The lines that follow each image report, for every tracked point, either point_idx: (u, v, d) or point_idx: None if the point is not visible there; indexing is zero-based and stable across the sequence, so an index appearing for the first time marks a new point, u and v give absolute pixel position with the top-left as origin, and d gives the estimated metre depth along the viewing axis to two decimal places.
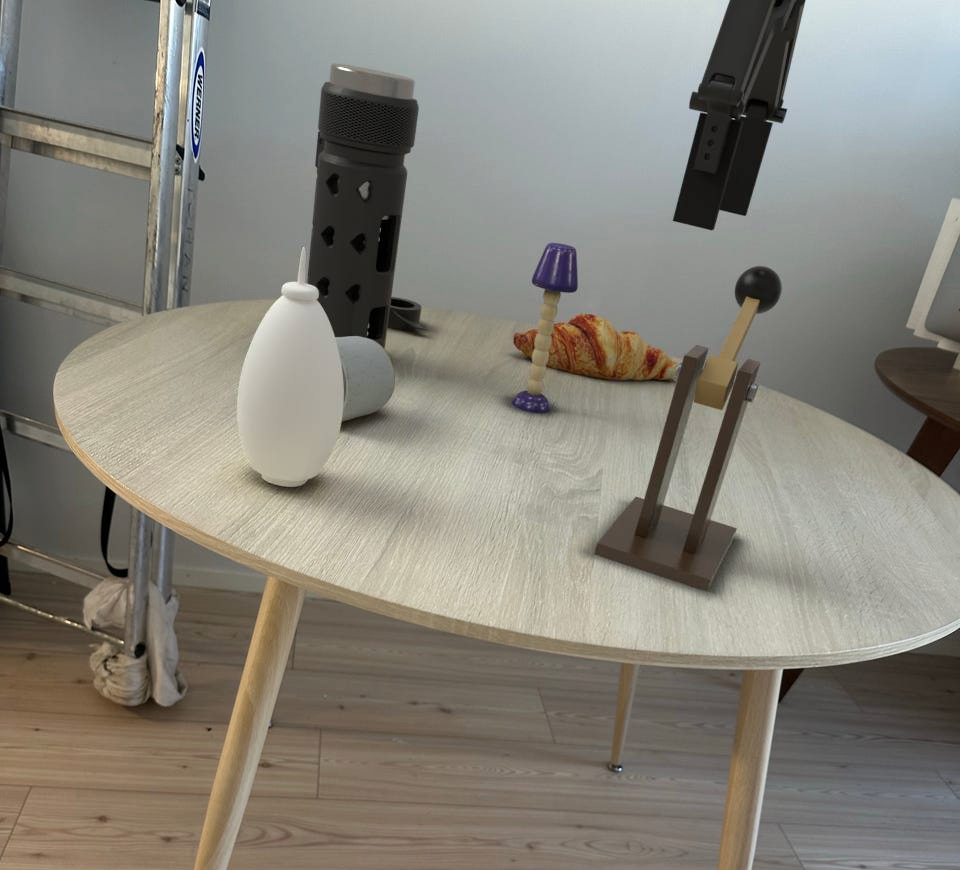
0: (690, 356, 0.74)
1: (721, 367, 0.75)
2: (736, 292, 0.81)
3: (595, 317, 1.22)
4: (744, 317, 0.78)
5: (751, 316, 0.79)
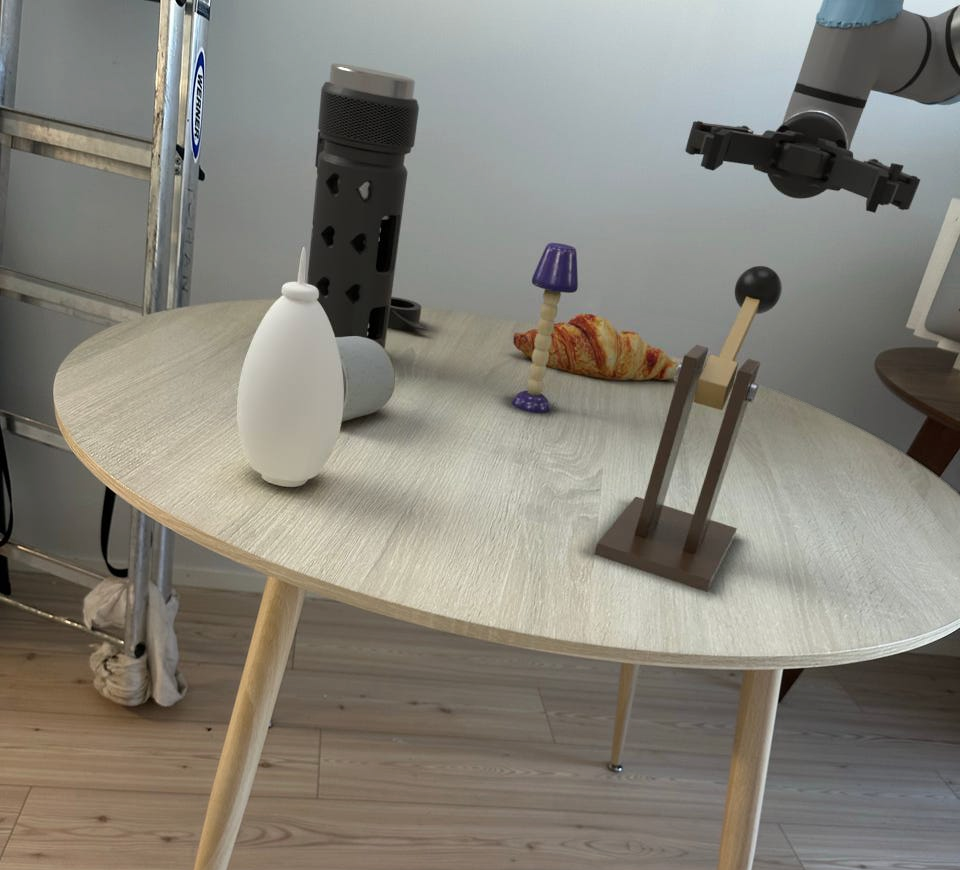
0: (690, 356, 0.74)
1: (721, 367, 0.75)
2: (736, 292, 0.81)
3: (595, 317, 1.22)
4: (744, 317, 0.78)
5: (751, 316, 0.79)
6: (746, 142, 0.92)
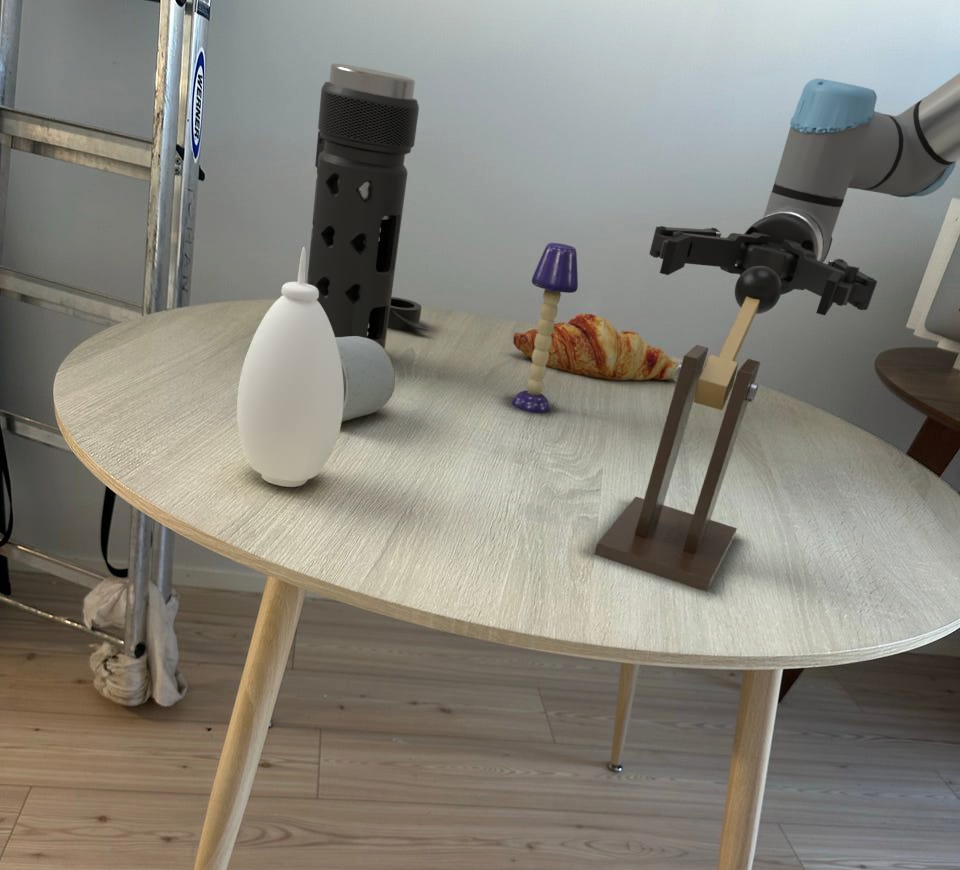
0: (690, 356, 0.74)
1: (721, 367, 0.75)
2: (736, 292, 0.81)
3: (595, 317, 1.22)
4: (744, 317, 0.78)
5: (751, 316, 0.79)
6: (709, 245, 0.94)
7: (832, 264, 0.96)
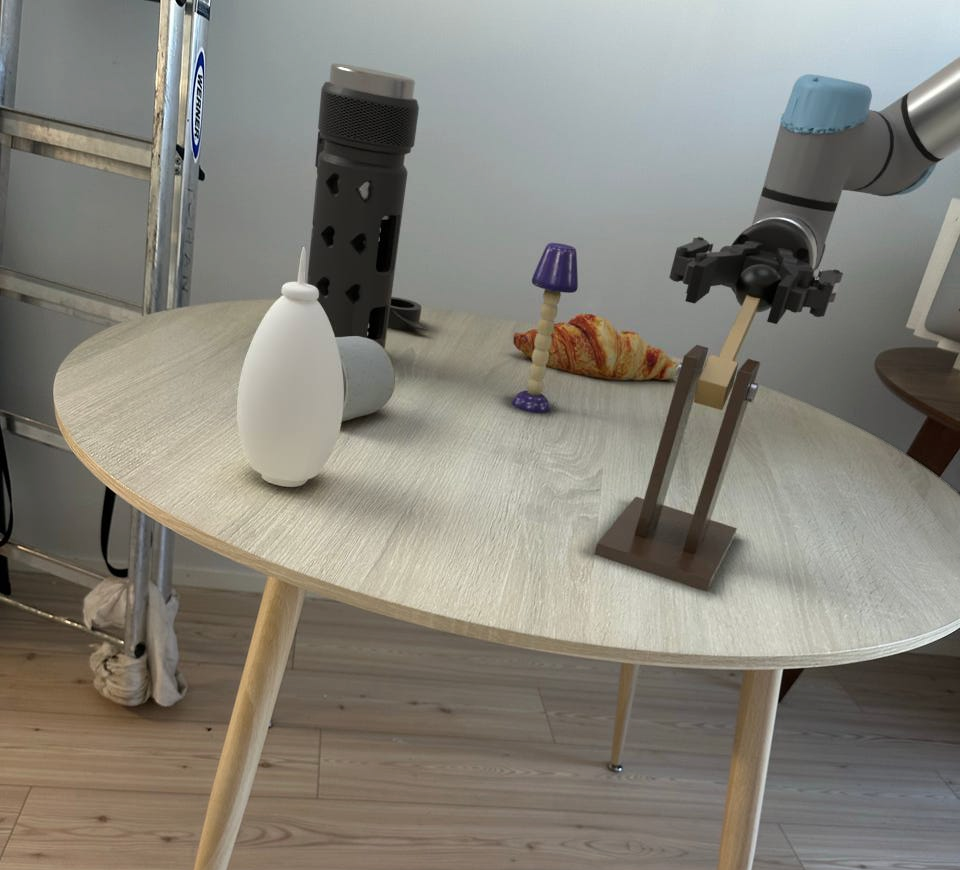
0: (690, 356, 0.74)
1: (721, 367, 0.75)
2: (736, 291, 0.80)
3: (595, 317, 1.22)
4: (744, 316, 0.78)
5: (751, 315, 0.78)
6: (724, 263, 0.85)
7: None
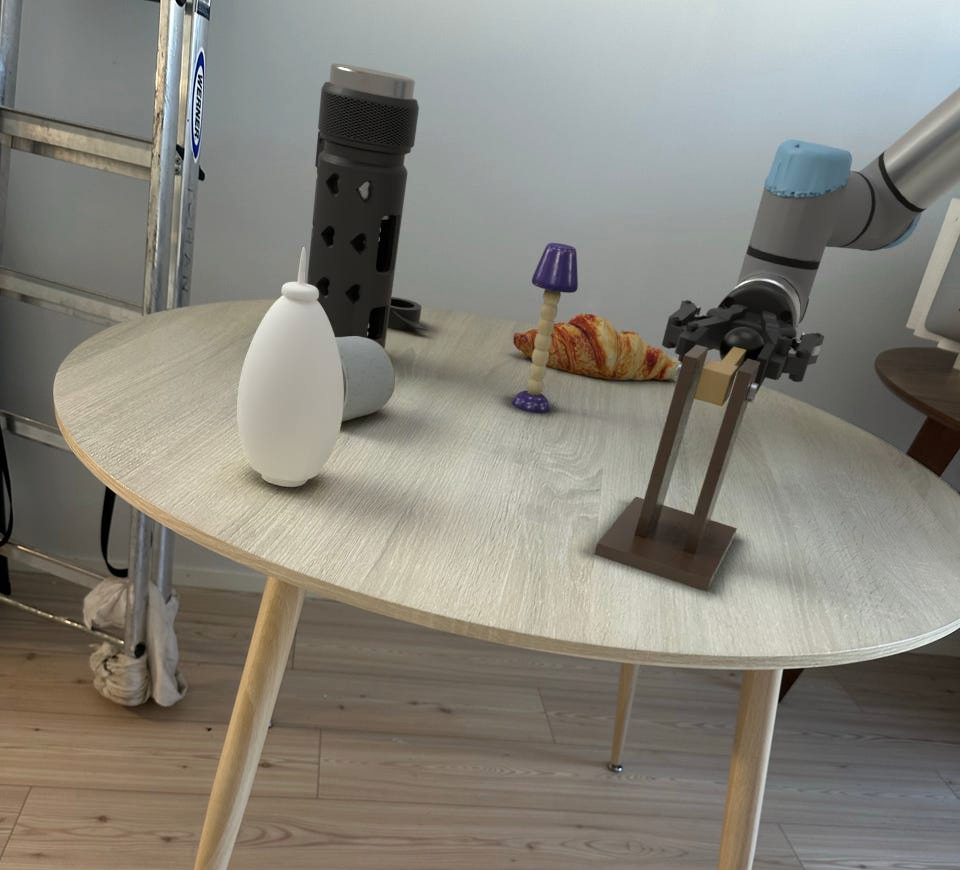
0: (690, 356, 0.74)
1: (722, 365, 0.75)
2: (722, 346, 0.84)
3: (595, 317, 1.22)
4: (734, 354, 0.81)
5: (741, 355, 0.81)
6: (714, 330, 0.89)
7: None
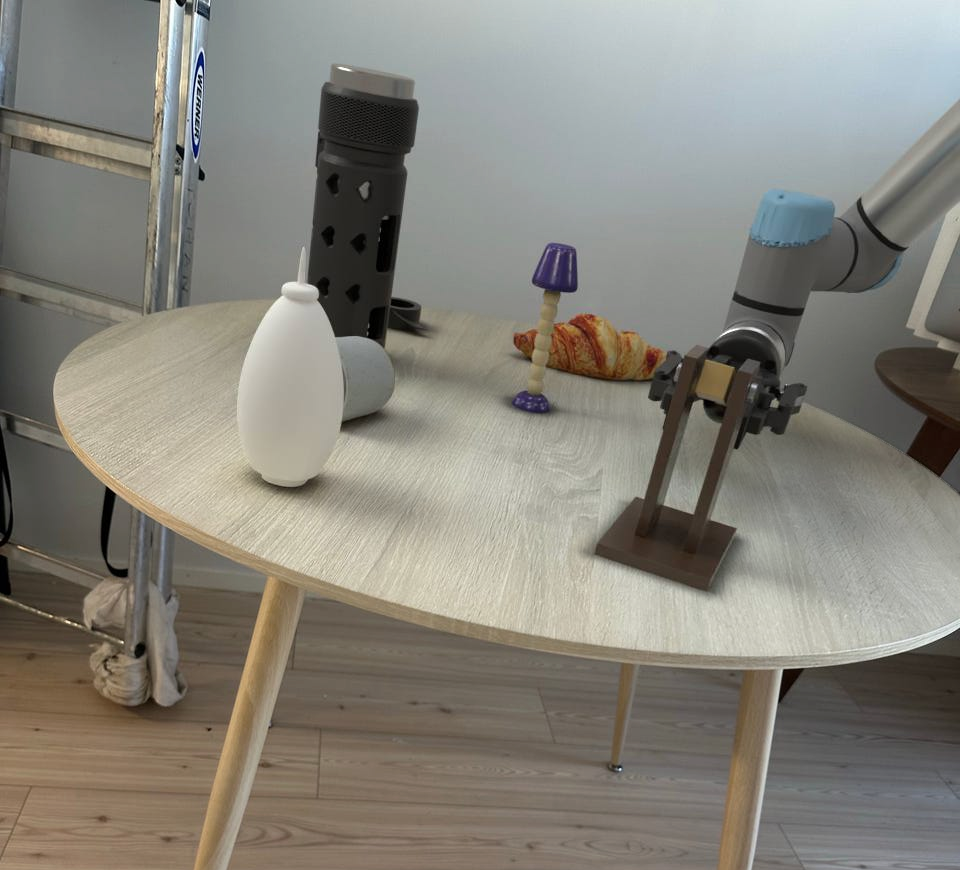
0: (690, 356, 0.74)
1: None
2: None
3: (595, 317, 1.22)
4: None
5: (729, 391, 0.82)
6: None
7: None
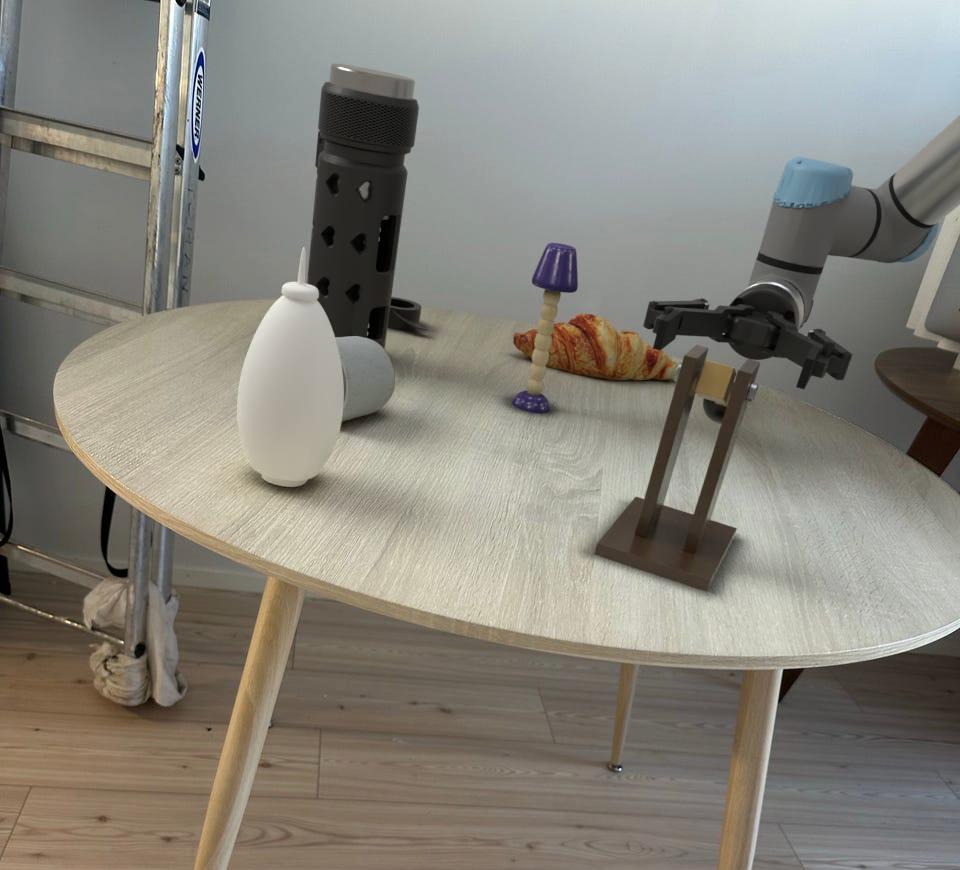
0: (690, 356, 0.74)
1: None
2: None
3: (595, 317, 1.22)
4: None
5: (729, 392, 0.82)
6: (698, 318, 1.02)
7: (812, 334, 1.04)
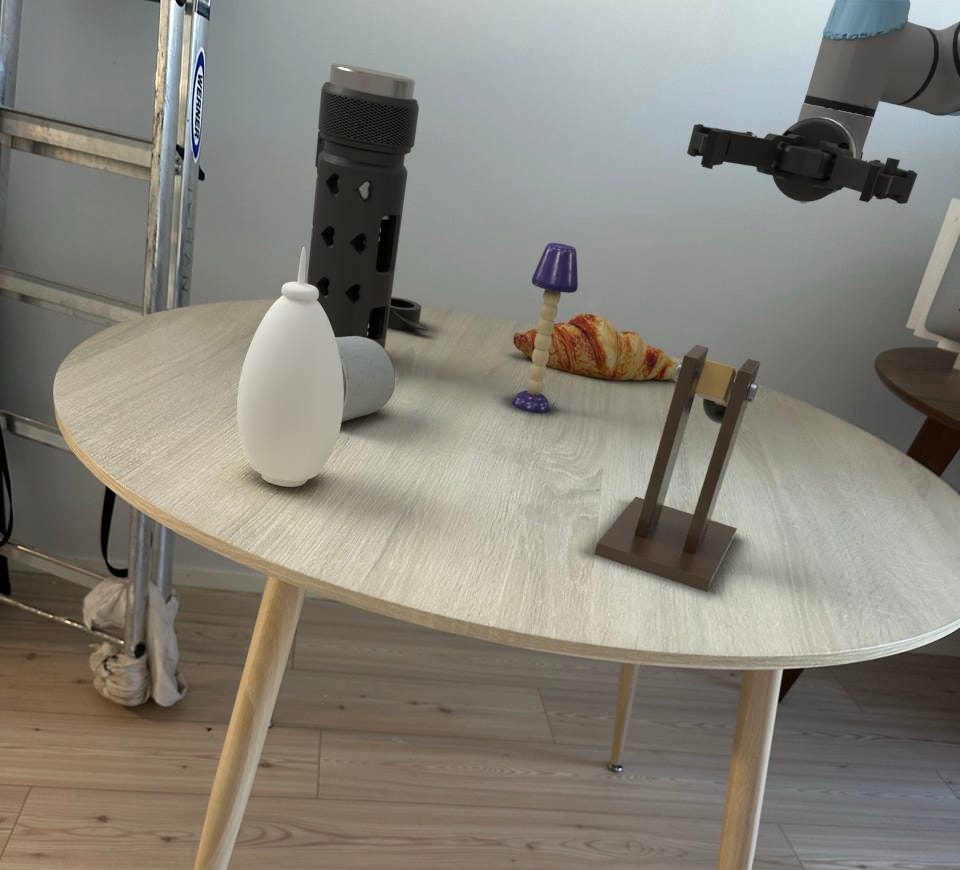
0: (690, 356, 0.74)
1: None
2: None
3: (595, 317, 1.22)
4: None
5: (729, 392, 0.82)
6: (747, 143, 0.94)
7: None
